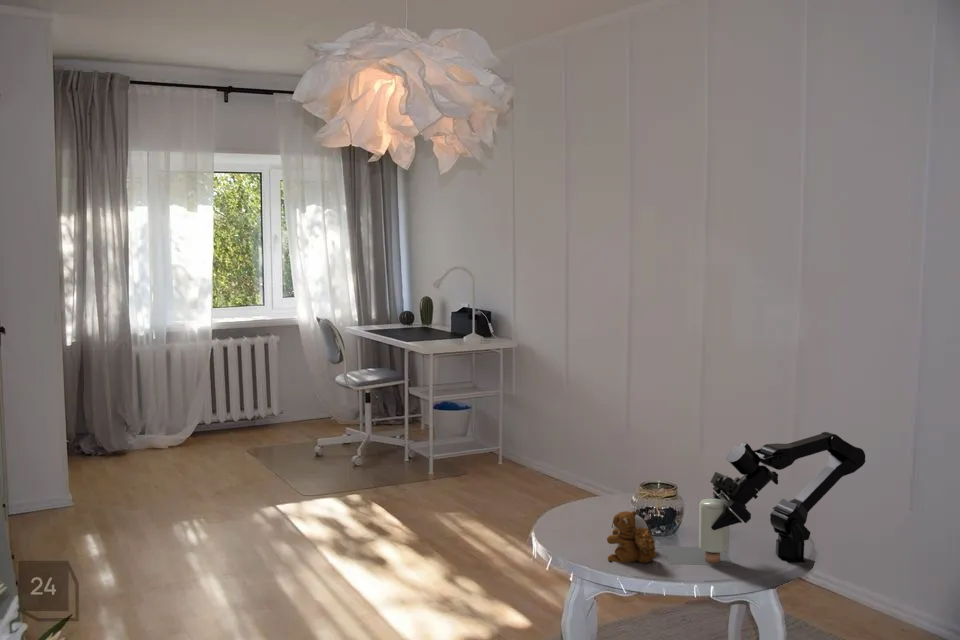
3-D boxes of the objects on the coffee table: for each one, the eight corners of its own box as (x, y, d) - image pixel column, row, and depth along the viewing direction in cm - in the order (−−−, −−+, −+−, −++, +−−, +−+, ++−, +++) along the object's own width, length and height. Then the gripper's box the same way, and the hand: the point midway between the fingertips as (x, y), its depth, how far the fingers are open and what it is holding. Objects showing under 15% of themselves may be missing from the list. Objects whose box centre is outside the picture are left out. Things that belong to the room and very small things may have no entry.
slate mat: (723, 549, 254) (723, 547, 254) (733, 566, 240) (733, 565, 240) (662, 547, 255) (662, 546, 255) (669, 565, 241) (669, 563, 241)
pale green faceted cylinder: (724, 543, 246) (725, 498, 245) (730, 552, 239) (731, 506, 238) (697, 542, 247) (697, 498, 245) (702, 552, 239) (702, 506, 238)
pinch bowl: (718, 558, 245) (718, 549, 245) (721, 563, 241) (721, 554, 241) (703, 558, 245) (703, 549, 245) (706, 563, 241) (706, 554, 241)
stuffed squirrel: (619, 549, 253) (620, 504, 252) (665, 561, 244) (666, 513, 243) (601, 559, 245) (601, 512, 244) (647, 571, 236) (648, 522, 235)
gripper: (720, 454, 250) (680, 493, 251) (739, 472, 231) (695, 514, 232) (748, 482, 250) (708, 521, 252) (769, 502, 232) (725, 543, 233)
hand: (708, 524), depth 242 cm, fingers closed on pale green faceted cylinder, 7 cm apart
